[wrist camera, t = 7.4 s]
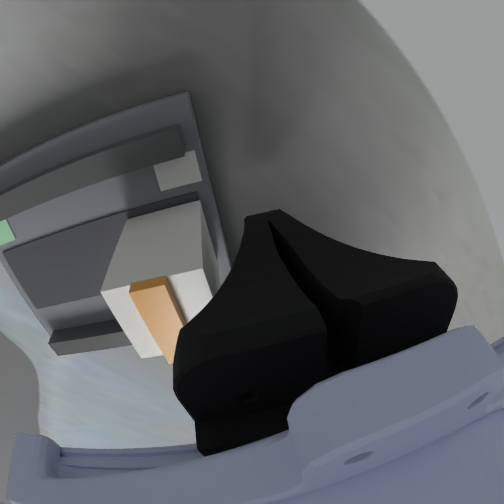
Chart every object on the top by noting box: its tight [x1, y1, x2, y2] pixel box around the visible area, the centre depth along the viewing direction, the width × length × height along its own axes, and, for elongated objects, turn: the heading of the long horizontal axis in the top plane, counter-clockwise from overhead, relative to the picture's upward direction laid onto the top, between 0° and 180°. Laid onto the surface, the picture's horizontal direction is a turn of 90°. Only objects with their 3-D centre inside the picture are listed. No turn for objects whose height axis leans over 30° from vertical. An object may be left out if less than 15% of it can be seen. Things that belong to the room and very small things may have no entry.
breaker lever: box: [100, 200, 221, 364], centre depth 10 cm, size 3×3×5 cm
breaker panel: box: [0, 91, 232, 356], centre depth 13 cm, size 11×11×3 cm
